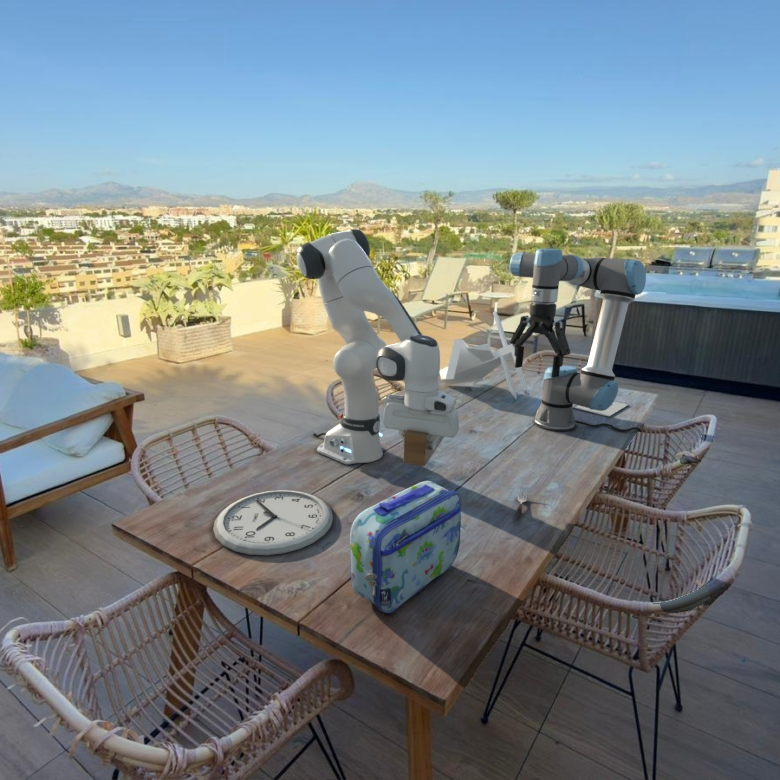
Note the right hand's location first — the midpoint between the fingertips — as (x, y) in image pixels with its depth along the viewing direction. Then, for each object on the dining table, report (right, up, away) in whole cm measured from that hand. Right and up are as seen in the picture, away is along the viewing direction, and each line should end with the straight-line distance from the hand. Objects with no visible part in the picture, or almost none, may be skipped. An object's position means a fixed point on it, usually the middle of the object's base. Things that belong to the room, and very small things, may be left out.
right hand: (536, 371), depth 161 cm
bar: (-34, -21, -11) cm, 42 cm away
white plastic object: (-3, -7, +82) cm, 82 cm away
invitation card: (+46, -13, +65) cm, 81 cm away
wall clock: (-75, -39, -26) cm, 89 cm away
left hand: (-37, -21, -21) cm, 48 cm away
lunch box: (-42, -47, -49) cm, 80 cm away
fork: (-10, -38, -18) cm, 43 cm away
